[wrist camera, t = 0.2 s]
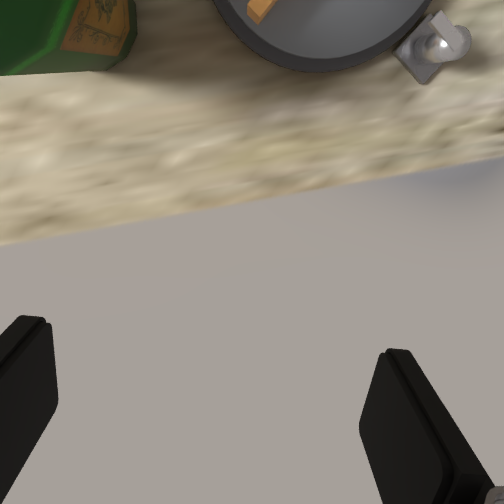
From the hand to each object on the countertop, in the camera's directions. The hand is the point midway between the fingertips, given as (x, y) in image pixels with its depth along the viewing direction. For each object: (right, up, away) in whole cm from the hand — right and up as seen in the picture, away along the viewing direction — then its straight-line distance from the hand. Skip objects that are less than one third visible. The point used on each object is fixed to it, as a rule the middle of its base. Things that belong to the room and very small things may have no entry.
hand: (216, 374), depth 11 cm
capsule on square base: (+17, +22, +25) cm, 37 cm away
